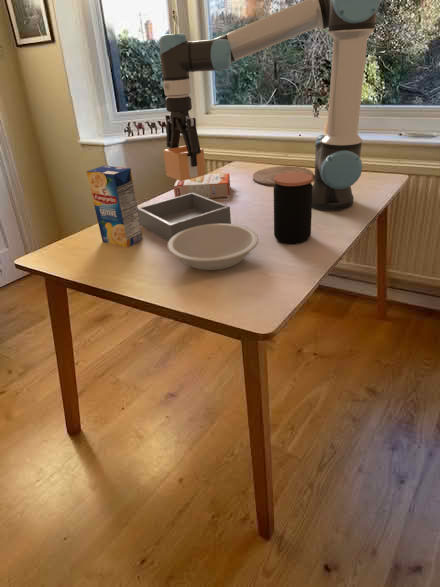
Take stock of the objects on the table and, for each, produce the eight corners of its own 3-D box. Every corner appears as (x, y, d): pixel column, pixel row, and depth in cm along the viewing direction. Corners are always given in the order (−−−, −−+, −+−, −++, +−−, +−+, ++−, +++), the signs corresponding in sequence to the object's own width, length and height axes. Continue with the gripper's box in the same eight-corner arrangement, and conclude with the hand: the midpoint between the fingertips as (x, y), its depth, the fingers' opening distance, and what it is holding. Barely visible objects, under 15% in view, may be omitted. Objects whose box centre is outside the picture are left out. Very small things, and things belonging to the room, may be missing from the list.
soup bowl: (179, 245, 129) (176, 224, 125) (260, 243, 126) (259, 221, 122) (162, 284, 108) (158, 261, 105) (258, 283, 105) (257, 259, 102)
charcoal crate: (231, 224, 140) (229, 206, 137) (172, 244, 130) (170, 225, 126) (194, 208, 156) (192, 192, 153) (139, 225, 145) (136, 208, 142)
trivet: (244, 176, 190) (244, 171, 189) (296, 167, 195) (296, 163, 194) (266, 191, 169) (266, 186, 168) (324, 181, 174) (324, 176, 174)
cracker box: (228, 181, 161) (173, 185, 162) (229, 197, 164) (175, 201, 165) (229, 171, 173) (177, 175, 175) (230, 186, 176) (179, 190, 178)
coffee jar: (317, 235, 127) (320, 174, 118) (297, 248, 121) (298, 185, 111) (287, 228, 134) (288, 170, 125) (266, 240, 127) (265, 179, 118)
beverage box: (128, 247, 130) (113, 174, 119) (102, 241, 135) (86, 171, 124) (143, 239, 135) (130, 168, 123) (117, 233, 140) (103, 165, 129)
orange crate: (205, 175, 135) (203, 149, 131) (180, 181, 131) (177, 154, 127) (190, 170, 142) (188, 144, 138) (166, 175, 138) (163, 149, 134)
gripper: (149, 95, 131) (158, 169, 142) (186, 99, 115) (193, 183, 127) (170, 92, 134) (178, 165, 146) (209, 96, 119) (214, 177, 130)
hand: (185, 173), depth 136 cm, fingers closed on orange crate, 9 cm apart
